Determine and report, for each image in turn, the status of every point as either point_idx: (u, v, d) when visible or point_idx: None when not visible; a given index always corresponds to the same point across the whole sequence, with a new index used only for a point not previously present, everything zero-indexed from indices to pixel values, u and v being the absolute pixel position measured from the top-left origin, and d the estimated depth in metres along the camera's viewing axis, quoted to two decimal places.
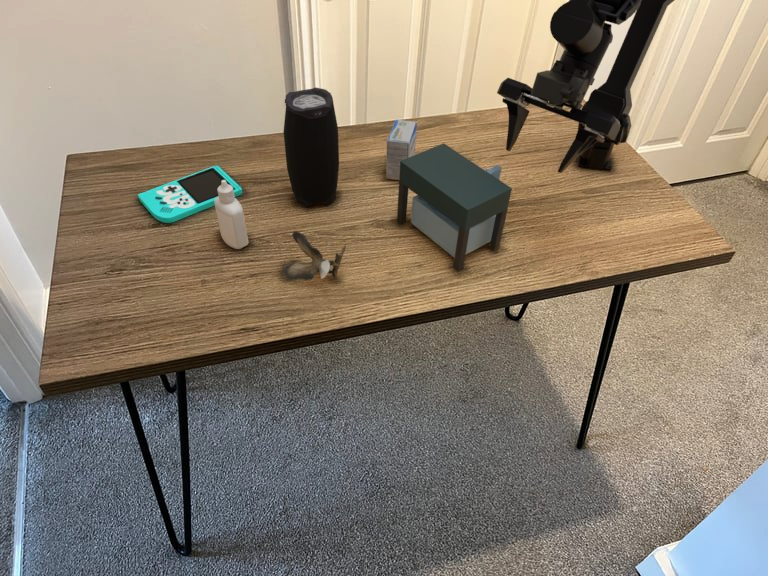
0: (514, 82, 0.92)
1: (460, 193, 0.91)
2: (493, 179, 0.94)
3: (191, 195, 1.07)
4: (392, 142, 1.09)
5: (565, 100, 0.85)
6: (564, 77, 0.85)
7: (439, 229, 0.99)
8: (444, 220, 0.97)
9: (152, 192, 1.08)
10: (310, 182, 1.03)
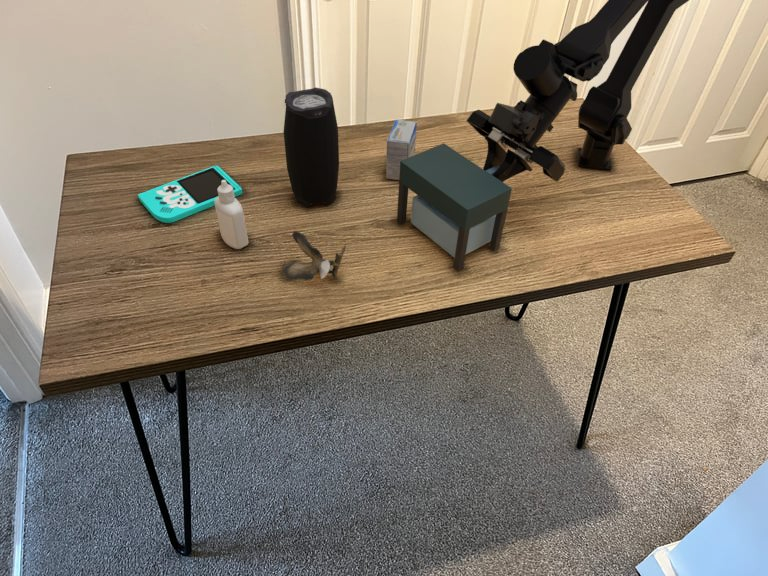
0: (482, 114, 1.02)
1: (460, 193, 0.91)
2: (493, 179, 0.94)
3: (191, 195, 1.07)
4: (392, 142, 1.09)
5: (517, 132, 0.94)
6: (520, 113, 0.95)
7: (439, 229, 0.99)
8: (444, 220, 0.97)
9: (152, 192, 1.08)
10: (310, 182, 1.03)
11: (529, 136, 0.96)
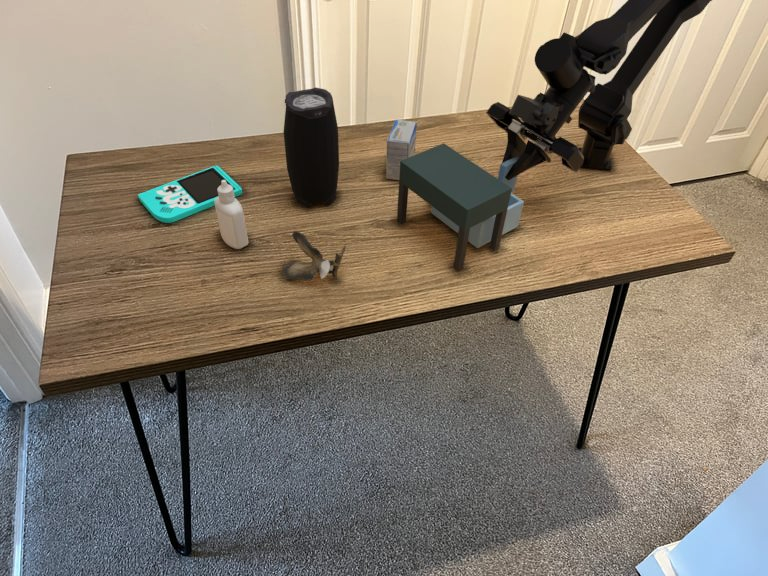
0: (501, 106, 1.04)
1: (460, 193, 0.91)
2: (493, 179, 0.94)
3: (191, 195, 1.07)
4: (392, 142, 1.09)
5: (537, 123, 0.97)
6: (541, 104, 0.97)
7: None
8: None
9: (152, 192, 1.08)
10: (310, 182, 1.03)
11: (549, 127, 0.99)
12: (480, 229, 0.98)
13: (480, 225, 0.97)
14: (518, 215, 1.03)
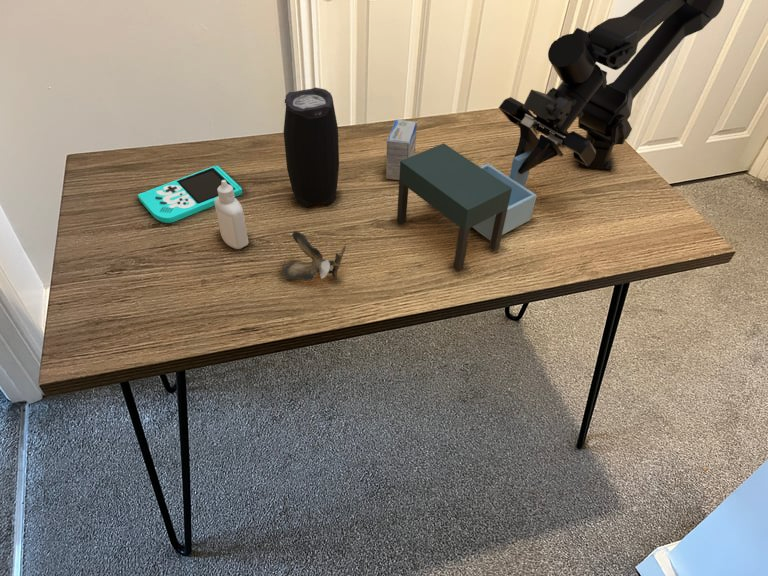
0: (514, 101, 1.06)
1: (460, 193, 0.91)
2: (493, 179, 0.94)
3: (191, 195, 1.07)
4: (392, 142, 1.09)
5: (550, 117, 0.98)
6: (554, 99, 0.99)
7: None
8: None
9: (152, 192, 1.08)
10: (310, 182, 1.03)
11: (561, 122, 1.00)
12: None
13: (494, 218, 0.99)
14: (531, 209, 1.05)
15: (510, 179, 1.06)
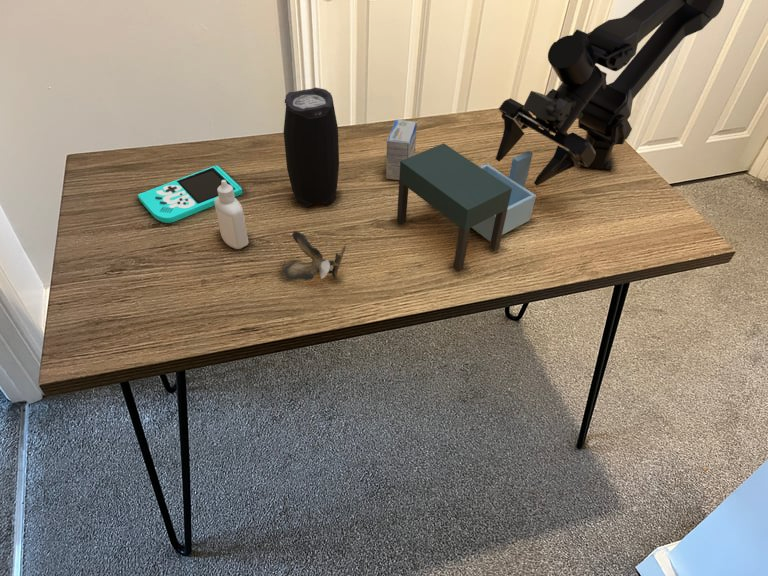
0: (514, 102, 1.06)
1: (460, 193, 0.91)
2: (493, 179, 0.94)
3: (191, 195, 1.07)
4: (392, 142, 1.09)
5: (550, 118, 0.98)
6: (553, 100, 0.99)
7: None
8: None
9: (152, 192, 1.08)
10: (310, 182, 1.03)
11: (561, 123, 1.00)
12: (493, 222, 0.99)
13: (493, 218, 0.99)
14: (530, 209, 1.04)
15: (509, 179, 1.06)
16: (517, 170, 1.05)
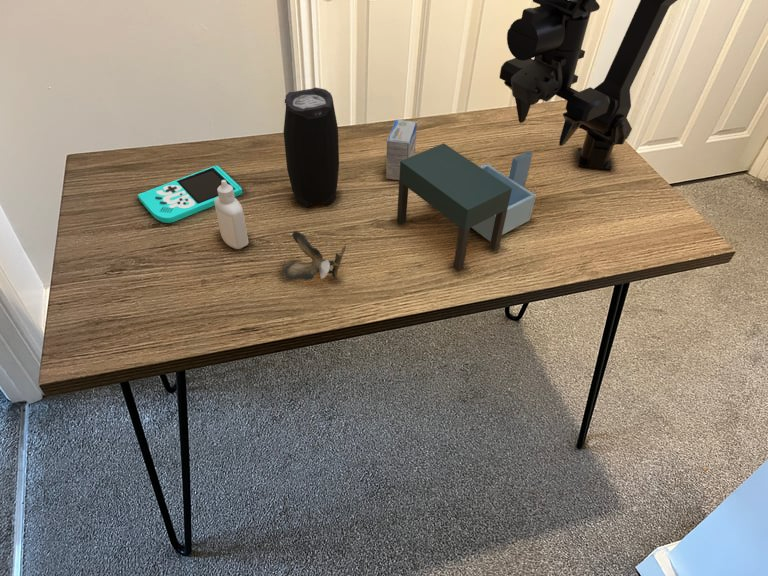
0: (510, 67, 0.99)
1: (460, 193, 0.91)
2: (493, 179, 0.94)
3: (191, 195, 1.07)
4: (392, 142, 1.09)
5: None
6: (539, 74, 0.92)
7: None
8: None
9: (152, 192, 1.08)
10: (310, 182, 1.03)
11: (558, 86, 0.93)
12: (493, 222, 0.99)
13: (493, 218, 0.99)
14: (530, 209, 1.04)
15: (509, 179, 1.06)
16: (517, 170, 1.05)
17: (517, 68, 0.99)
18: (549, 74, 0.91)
